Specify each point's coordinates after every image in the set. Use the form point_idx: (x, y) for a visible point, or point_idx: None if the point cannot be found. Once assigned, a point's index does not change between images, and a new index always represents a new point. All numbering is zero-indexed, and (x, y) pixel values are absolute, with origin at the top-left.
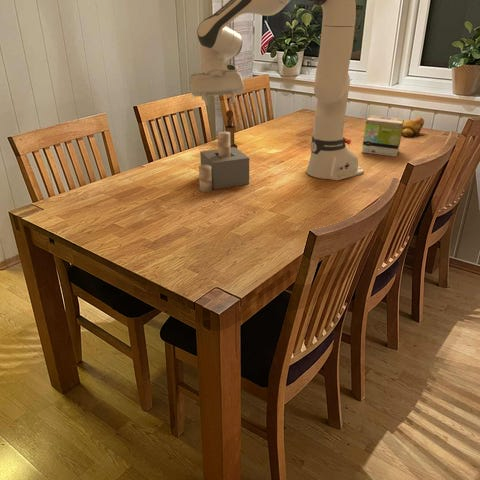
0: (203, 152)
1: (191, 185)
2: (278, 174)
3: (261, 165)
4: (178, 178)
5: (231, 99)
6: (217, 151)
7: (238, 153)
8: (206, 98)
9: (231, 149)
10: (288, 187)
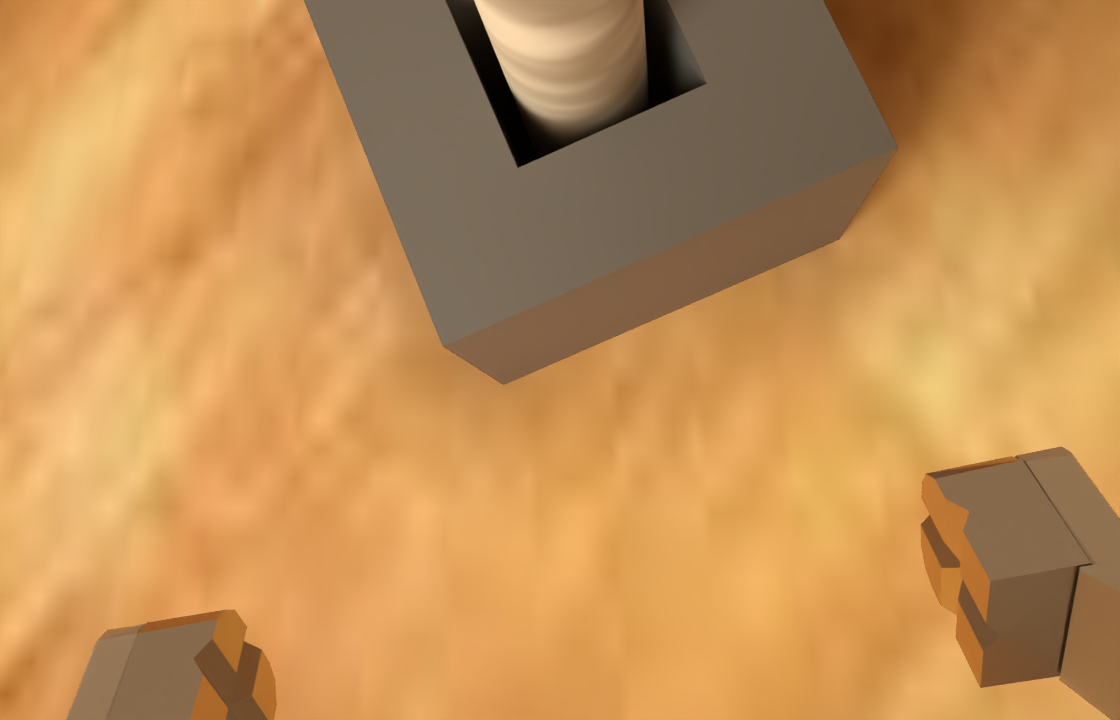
0: (848, 109)
1: (909, 11)
2: (98, 314)
3: (228, 574)
4: (1073, 185)
5: (171, 660)
6: (664, 155)
7: (399, 88)
8: (1109, 567)
9: (485, 244)
10: (61, 11)
